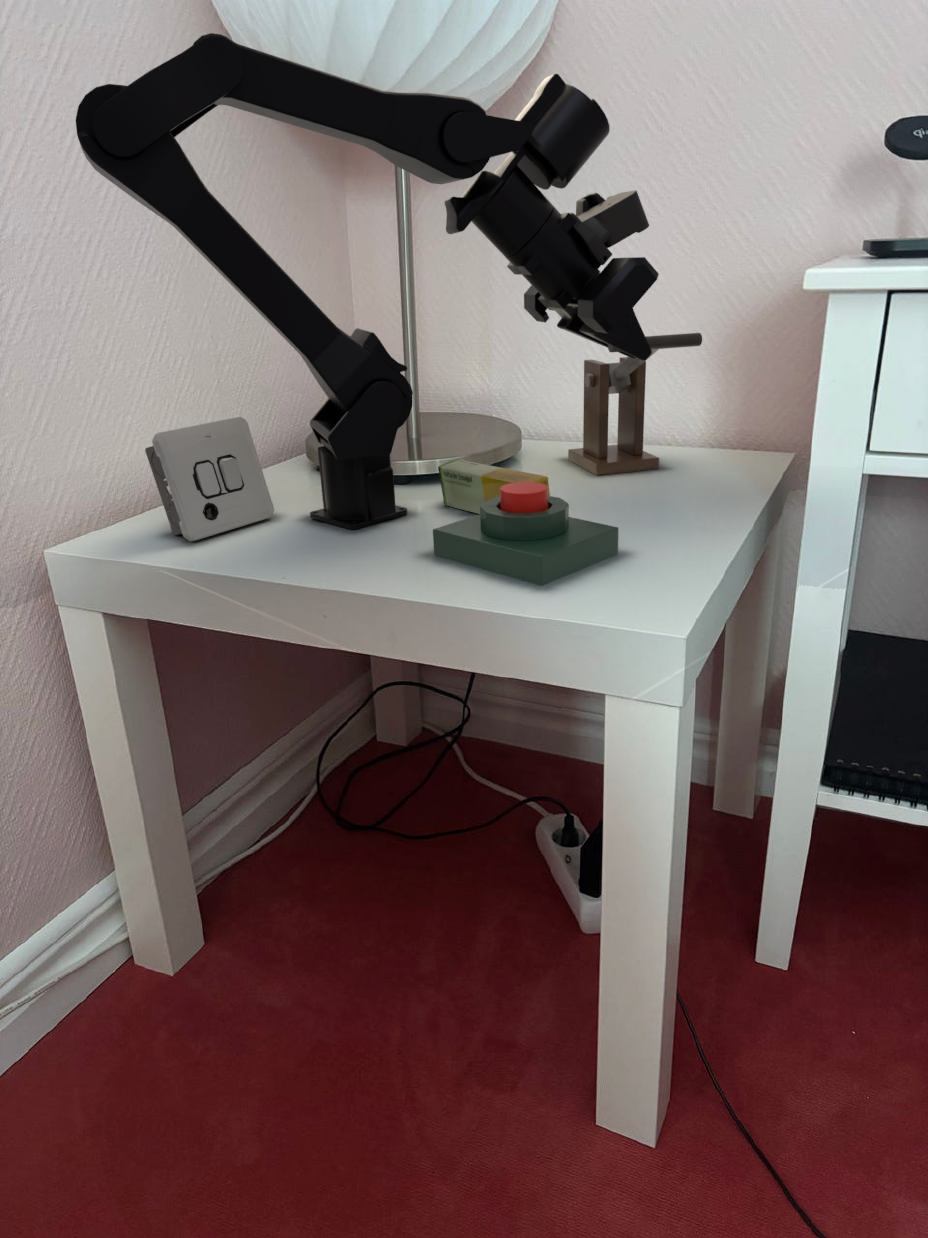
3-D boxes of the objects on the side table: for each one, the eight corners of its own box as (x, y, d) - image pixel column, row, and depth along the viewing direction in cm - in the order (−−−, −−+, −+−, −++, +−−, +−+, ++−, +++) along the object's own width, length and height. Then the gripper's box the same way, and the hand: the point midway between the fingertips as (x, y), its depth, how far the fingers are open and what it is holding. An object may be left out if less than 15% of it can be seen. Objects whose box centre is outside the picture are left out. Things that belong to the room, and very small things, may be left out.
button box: (433, 556, 71) (430, 506, 69) (511, 529, 76) (510, 482, 75) (541, 586, 63) (541, 531, 62) (618, 554, 69) (619, 503, 68)
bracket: (659, 468, 94) (663, 362, 90) (596, 475, 93) (598, 366, 89) (626, 454, 102) (629, 354, 97) (568, 460, 100) (568, 358, 96)
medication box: (441, 507, 84) (435, 465, 82) (463, 498, 86) (457, 457, 84) (532, 529, 75) (527, 483, 74) (555, 519, 77) (550, 474, 75)
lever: (704, 349, 84) (700, 324, 85) (614, 356, 82) (610, 330, 82) (650, 390, 96) (646, 368, 96) (570, 397, 94) (567, 374, 94)
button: (490, 511, 68) (490, 488, 68) (522, 501, 71) (521, 479, 70) (526, 519, 66) (526, 496, 65) (558, 508, 68) (558, 486, 68)
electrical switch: (191, 545, 76) (166, 433, 73) (156, 541, 79) (132, 434, 76) (277, 518, 82) (258, 415, 80) (242, 516, 86) (223, 416, 83)
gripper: (638, 142, 69) (757, 290, 75) (553, 166, 85) (656, 285, 92) (541, 259, 70) (666, 394, 76) (476, 260, 86) (583, 370, 93)
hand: (643, 355), depth 84 cm, fingers closed
